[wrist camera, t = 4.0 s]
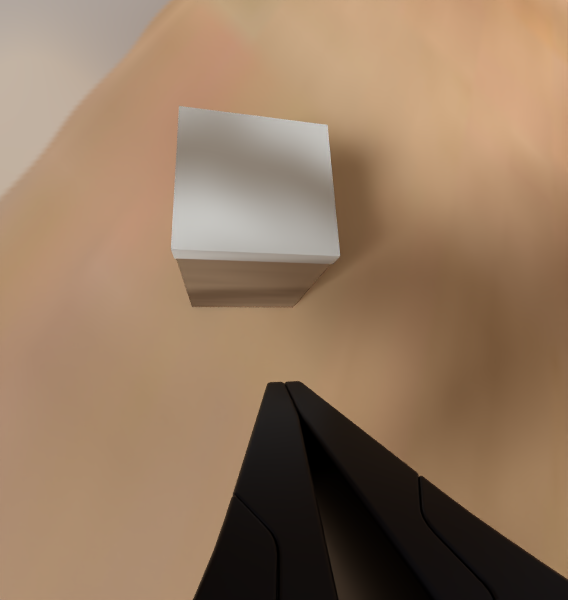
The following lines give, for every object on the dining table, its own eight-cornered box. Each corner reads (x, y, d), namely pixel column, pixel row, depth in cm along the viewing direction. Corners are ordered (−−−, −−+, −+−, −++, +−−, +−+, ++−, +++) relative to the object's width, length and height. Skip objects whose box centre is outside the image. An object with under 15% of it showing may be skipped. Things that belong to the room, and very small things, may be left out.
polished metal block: (293, 308, 20) (340, 256, 12) (191, 307, 18) (170, 249, 11) (288, 220, 21) (327, 125, 14) (194, 214, 20) (179, 106, 12)
